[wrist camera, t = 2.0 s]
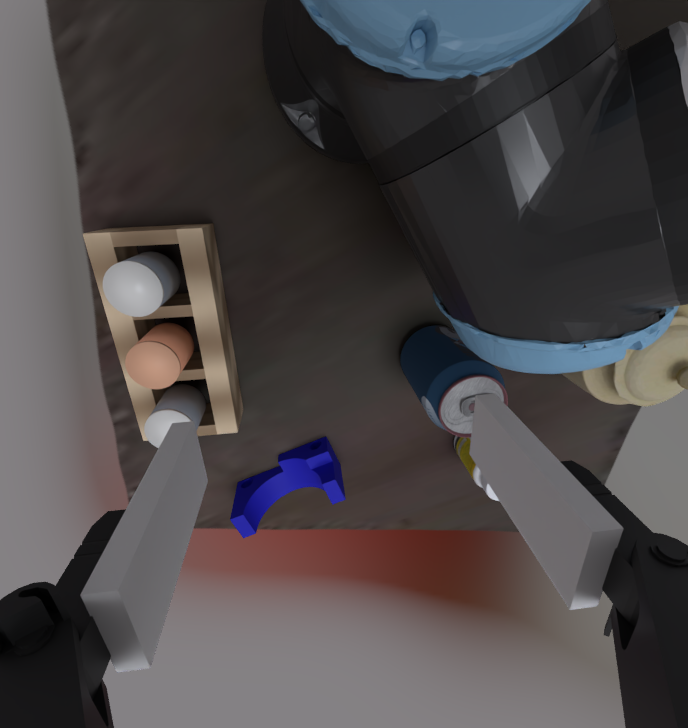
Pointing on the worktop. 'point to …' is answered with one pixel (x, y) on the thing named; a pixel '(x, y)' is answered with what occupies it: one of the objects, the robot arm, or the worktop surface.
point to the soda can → (448, 377)
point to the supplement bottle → (472, 465)
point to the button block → (199, 302)
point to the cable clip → (287, 483)
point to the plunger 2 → (174, 411)
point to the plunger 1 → (141, 283)
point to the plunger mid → (160, 356)
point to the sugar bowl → (643, 370)
